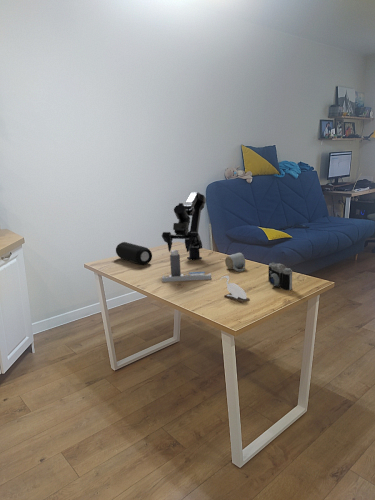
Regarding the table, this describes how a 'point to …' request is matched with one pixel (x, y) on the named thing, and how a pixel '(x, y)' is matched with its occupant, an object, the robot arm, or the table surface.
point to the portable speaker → (134, 253)
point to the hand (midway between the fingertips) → (178, 251)
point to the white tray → (187, 277)
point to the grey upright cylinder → (175, 263)
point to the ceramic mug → (235, 261)
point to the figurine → (235, 292)
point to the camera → (280, 276)
